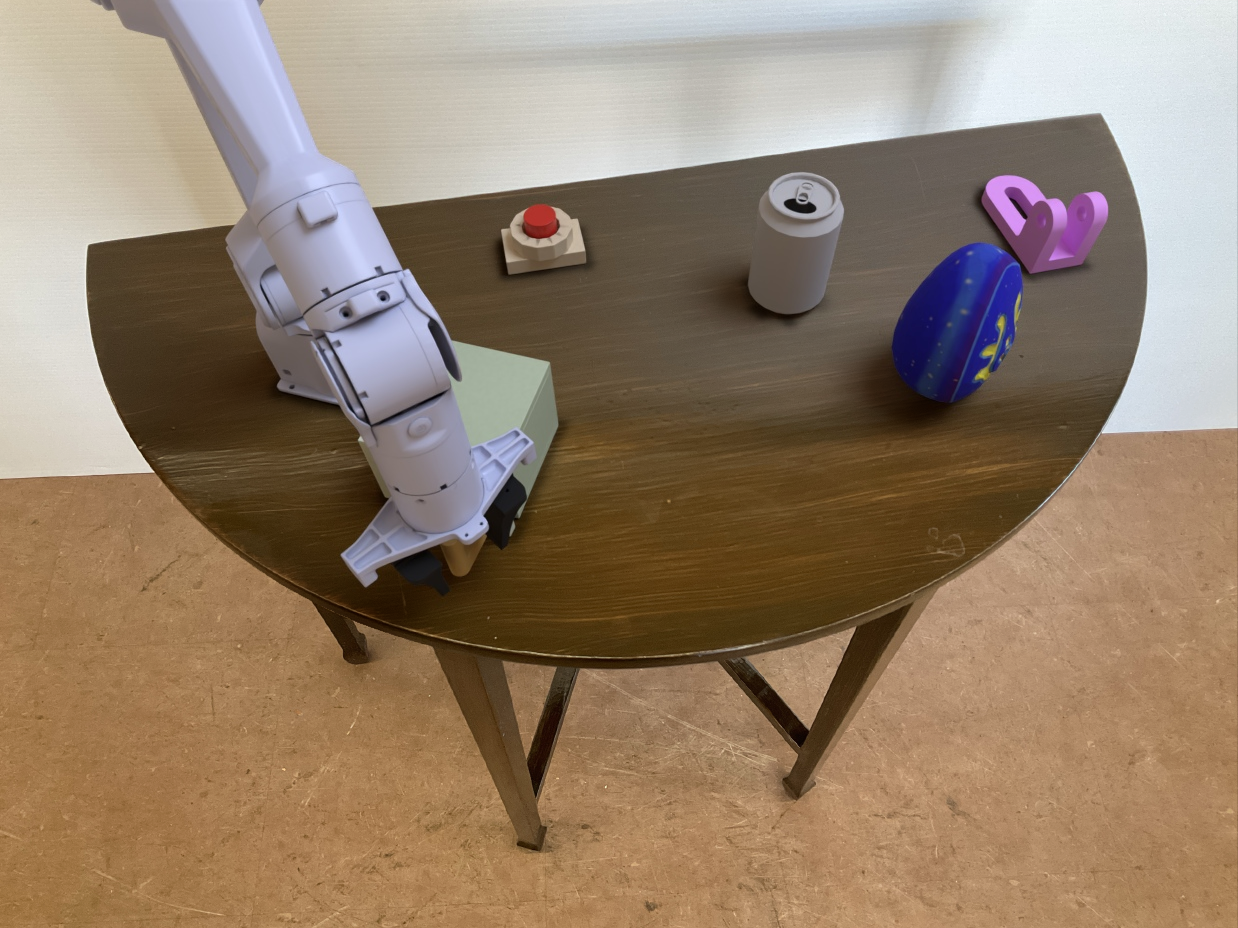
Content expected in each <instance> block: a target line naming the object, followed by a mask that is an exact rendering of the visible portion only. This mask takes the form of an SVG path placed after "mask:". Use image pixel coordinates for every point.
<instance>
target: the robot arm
mask: <svg viewBox="0 0 1238 928" xmlns="http://www.w3.org/2000/svg"><path fill="white" fill-rule="evenodd" d="M264 1H265V0H90V2H91V3H94V4H96V5H98V6H102V7H103V9H104V10H105V11H107V12H111V11H115V12H116V14H117V16H118V19H119V21H120V22H121V25H122V26H123V27H124V28H125V29H127V30H128V31H132V32H135V33H140V34H145V35H149V36H153V37H157V38H160V39H164V40H165V42H166V44H167V46H168V48H169V50H170V52H171V54H172V57H173V59H174V61H175V63H176V65H177V67H178V69H179V71H180V73H181V75H182V77H183V79H184V82H185V83H186V86H187V88H188V90H189V92H190V94H191V96H192V98H193V100H194V102H195V105H196V107H197V108H198V110H199V113H200V115H201V117H202V119H203V120H204V123H205V125H206V127H207V129H208V131H209V133H210V135H211V137H212V139H213V141H214V144H215V146H216V148H217V150H218V152H219V154H220V157H221V158H222V160H223V162H224V164H225V167H226V169H227V171H228V173H229V175H230V177H231V179H232V181H233V184H234V185H235V188H236V189H237V192H238V194H239V195H240V197H241V200H242V202H243V205H244V206H245V208H246V211H245V212H244V213H243V214H242V216H241V217H240V218H239V220H237V222H236V223H235V224H234V226H233V227H232V228H231V229H230V231H229V232H228V234H227V235H226V237H225V240H224V241H225V242H226V244H227V245H226V247H225V250H226V252H227V254H228V256H229V258H230V260H231V262H232V263H233V266H232V267H233V269H234V271H235V273H236V275H237V276H238V278H239V280H240V282H241V284H242V286H243V288H244V290H245V292H246V294H247V296H248V298H249V300H250V302H251V303H252V305H253V307H254V309H255V311H256V313H255V328H256V329H255V330H256V334H257V337H258V339H259V342H260V344H261V345H262V347H263V349H264V351H265V352H266V354H267V356H268V358H269V360H270V362H271V363H272V365H273V367H274V368H275V370H276V373H277V374H278V376H279V378H280V379H279V381H278V382H277V385H276V388H277V389H278V391H280V392H283V393H287V394H292V395H296V396H299V397H304V398H309V399H312V400H316V401H320V402H324V403H329V404H333V405H337V406H339V407H340V409H341V411H342V412H343V414H344V416H345V417H346V419H348V420H349V422H350V423H351V424H352V425H353V426H354V428H355V429H356V430H357V432H358V433H359V435H360V436H361V437H362V439H363V441H364V442H365V444H366V446H367V448H369V450H370V452H371V455H372V457H373V459H374V461H375V463H376V465H377V467H378V469H379V471H380V473H381V475H382V477H383V479H384V482H385V484H386V486H387V488H388V490H389V492H390V494H391V497H390V498H388V499H387V501H386V502H385V503H384V505H383V506H382V507H381V509H380V510H379V511H378V512H377V514H376V515H375V517H374V518H373V519H372V521H371V522H370V523H369V524H368V526H367V527H366V528H365V529H364V531H363V532H362V533H361V534H360V536H358V538H357V540H356V541H354V542H353V544H351V545H350V546H349V547H348V548H346V549H345V550H344V551H343V552H341V553H340V557H341V559H342V560H343V562H344V563H345V565H346V566H347V568H348V569H349V571H351V573H352V575H354V577H355V578H356V579H357V580H358V581H359V582H360V584H361V585H362V586H363V587H364V588H367V587H369V586H370V585H371V584H373V583H374V582H375V581H377V580H378V577H379V575H378V573H377V572H376V570H377V569H379V568H381V567H383V566H386V565H388V564H391V566H392V567H393V568H394V569H395V570H396V571H397V572H398V573H399V575H400V576H401V577H402V578H403V579H404V580H405V581H406V582H408V583H410V584H411V585H413V586H415V587H416V586H420V585H424V586H428V587H430V588H432V589H434V590H435V591H436V592H437V593H438V594H439V595H440V596H441V597H444V596H446V595H447V594H448V593H450V592H451V587H450V586H449V584H448V583H447V581H446V579H445V578H444V575H443V563H442V562H441V561H440V560H439V559H438V558H437V557H436V556H435V554H434V553H433V552H432V551H431V550H430V548H433V547H436V546H438V545H440V544H441V543H444V542H446V541H449V540H452V539H458V540H459V541H460V542H461V543H463V544H464V545H470V544H472V543H473V542H475V541H476V540H477V539H479V538H480V537H481V536H483V535H484V534H486V535H487V538H488V539H489V540H490V541H491V542H492V543H493V544H494V545H496V547H497V548H499V550H500V551H503V550H504V549H506V548H507V547H508V546H509V539H510V536H509V535H510V530H511V527H512V523H513V520H514V521H515V516H516V514H517V512H518V510H519V509H520V507H521V506H522V505H523V504H524V503H525V501H526V500H527V501H528V499H527V494H526V489H525V487H524V485H523V484H522V483H521V482H520V481H519V480H517V479H516V478H515V477H514V475H513V471H514V470H515V468H516V467H517V466H518V464H519V463H520V462H521V463H522V464H523V465H528V464H530V463H531V462H533V461H534V460H535V459H536V458H537V456H536V451H535V446H534V442H533V441H532V440H531V439H530V438H528V437H527V436H526V435H525V434H524V433H523V432H522V431H521V430H519V429H518V428H517V427H514V428H513V429H511V430H510V431H508V432H507V433H505V434H503V435H501V436H499V437H497V438H494V439H492V440H489V441H486V442H484V443H481V444H478V445H475V446H472V447H471V445H470V442H469V439H468V436H467V432H466V429H465V426H464V423H463V420H462V416H461V413H460V410H459V407H458V404H457V401H456V397H455V394H454V391H453V388H452V384H451V381H450V378H449V375H448V372H449V373H450V374H451V376H452V377H453V378H454V379H455V380H456V381H458V382H461V381H462V373H461V369H460V365H459V362H458V358H457V354H456V351H455V349H454V346H453V343H452V341H453V340H452V339H451V337H450V334H449V332H448V329H447V328H446V325H445V324H444V322H443V320H442V319H441V318H442V317H441V316H440V315H439V313H438V312H437V310H436V309H435V307H434V305H433V304H432V303H431V302H430V301H429V298H428V297H427V296H426V294H424V293H425V292H423V290H422V289H421V288H420V286H419V284H418V282H417V281H416V279H415V276H414V275H413V274H412V272H411V270H410V269H409V268H406V269H403V267H402V265H401V263H400V261H399V259H398V257H397V255H396V253H395V251H394V249H393V247H392V245H391V243H390V240H389V239H388V237H387V236H386V235H387V234H386V233H385V232H384V229H383V227H382V225H381V223H380V221H379V219H378V217H377V215H376V213H375V210H374V209H373V207H372V205H371V203H370V201H369V199H368V197H367V195H366V194H365V191H364V189H363V187H362V186H361V183H360V181H359V179H358V177H357V175H356V173H355V172H354V171H353V170H352V169H351V168H350V167H349V166H346V165H344V164H341V163H340V162H338V161H336V160H333V159H332V158H329V157H327V156H326V155H324V154H322V153H320V151H319V150H318V147H317V145H316V142H315V140H314V138H313V135H312V132H311V129H310V127H309V125H308V123H307V120H306V117H305V115H304V113H303V110H302V108H301V105H300V102H299V101H298V97H297V95H296V92H295V91H294V88H293V86H292V83H291V81H290V78H289V76H288V74H287V71H286V68H285V66H284V64H283V61H282V58H281V57H280V54H279V51H278V49H277V46H276V44H275V41H274V39H273V36H272V34H271V32H270V29H269V27H268V24H267V21H266V19H265V16H264V15H263V12H262V9H261V6H262V4H263V2H264ZM451 340H452V341H451ZM447 370H448V372H447ZM527 501H526V502H527Z"/></svg>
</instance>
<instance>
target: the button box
mask: <svg viewBox="0 0 1238 928" xmlns="http://www.w3.org/2000/svg"><path fill="white" fill-rule="evenodd" d="M551 207H552V208H553V209H554V210H555V213H556V221H557V231H556V233H555V234H554V235H553V236H551V237H549V238H544V239H535V238H531V237H530V236H528V235H527V233H526V231H525V225H524V218H523V215H524V212H525V211H526V210H527V209H528V208H529V207H527V208H526V209H524V210H522V211H520V212H518V213H516V214H515V216H514V217H513V219H512V221H511V222H510V224H509V228H502V229H500V232H501V233H500V234H501V239H502V245H503V252H504V256H505V263H506V269H507V274H508V276H509V275H515V274H516V275H517V274H523V273H529V272H536V271H543V270H549V269H556V268H563V267H564V268H565V267H570V266H576V265H584V264H587V254H586V253H587V252H586V247H585V244H584V238H583V235H582V230H581V227H580V223H579V222H580V221H579V219H578V218H572V219H571V216H570V215H569V214H567V213H566V212H565V211H563V210H562V209H561V208H559V207H554V206H551Z"/></svg>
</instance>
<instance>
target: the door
mask: <svg viewBox="0 0 1238 928" xmlns="http://www.w3.org/2000/svg"><path fill="white" fill-rule="evenodd" d="M357 442H358V444H359V446H360V448H361V451H362V453H363V455H364V457H365V459H366V461H367V463H368V465H369V467H370V469H371V471H372V473H373V476H374V477H375V479H376V482H377V484H378V486H379V488H380V490H381V492H382V494H383V496H384V498H386V499H389V498H390V497H391V494H390V492H389V490H388V488H387V486H386V484H385V482H384V479H383V477H382V475H381V473H380V471H379V469H378V467H377V465H376V463H375V461H374V459H373V457H372V455H371V452H370V450H369V448H367V446H366V444H365V442H364V441H363V439H362V437H361V435H360V436H359V438H358V439H357ZM515 529H516V524H515V519H514V520H513V523H512V527H511V530H510V535H509V538H510V537H512V535H513V532H514V530H515ZM487 538H488V536H487V535H486V534H484V535H483V536H481V537H480V538H479V539H477V540H476V541H475V542H473V543H472V544H470V545H464V544H463V543H461V542H460V541H459V540H458V539H452V540H449V541H446V542H444V543H441V544H439V546H440V549H441V551H442V554H443V556H444V558H445V561H446V563H447V565H448V568H449V570H450V573H451V574H452V575H453V576H454V577H463V576H466V575H467V574H468V573H470V571H471V569H472V566H473V565H474V563H475V561H476V559H477V557H478V555H479V553H480V551H481V548H482V547H483V546H484V543H485V542H486V539H487Z"/></svg>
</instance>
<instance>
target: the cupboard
mask: <svg viewBox="0 0 1238 928" xmlns="http://www.w3.org/2000/svg"><path fill="white" fill-rule="evenodd" d="M451 341H452V343H453V346H454V349H455V351H456V354H457V358H458V362H459V365H460V369H461V373H462V381H461V382H458V381H456V380H455V379H454V378H453V377H452V376H451V374H450V373H449V372H448V370H447V372H448V375H449V378H450V381H451V384H452V388H453V391H454V394H455V397H456V401H457V404H458V407H459V410H460V413H461V416H462V420H463V423H464V426H465V429H466V432H467V436H468V439H469V442H470V445H471V447H472V446H475V445H478V444H481V443H484V442H486V441H489V440H492V439H494V438H497V437H499V436H501V435H503V434H505V433H507V432H508V431H510V430H511V429H513V428H514V427H517V428H518V429H519V430H521V431H522V432H523V433H524V434H525V435H526V436H527V437H528V438H530V439H531V440H532V441H533V442H534V446H535V451H536V456H537V458H536V459H535V460H534V461H533V462H531V463H530V464H528V465H523V464H522V463H521V462H520V463H519V464H518V466H517V467H516V468H515V470H514V471H513V475H514V477H515V478H516V479H517V480H519V481H520V482H521V483H522V484H523V485H524V487H525V489H526V494H527V500H526V501H525V503H524V504H523V505H522V506H521V507H520V509H519V510H518V512H517V514H516V516H515V518H516V519H520V518H521V515H522V513H523V511H524V508H525V506H526V503H527V502H528V499H529V496H530V494H531V491H532V489H533V487H534V485H535V483H536V480H537V477H538V476H539V473H540V471H541V469H542V468H541V467H542V466H543V463H544V461H545V459H546V457H547V454H548V451H549V449H550V446H551V445H552V441H553V440H554V437H555V435H556V432H557V430H558V428H559V417H558V410H557V405H556V404H557V403H556V396H555V388H554V381H553V375H552V367H551V366H552V365H551V362H550V361H547V360H542V359H538V358H535V357H534V358H533V357H529V356H525V355H520V354H515V353H511V352H506V351H501V350H497V349H492V348H488V347H483V346H479V345H474V344H469V343H465V342H460V341H456V340H452V339H451ZM515 518H514V519H515Z"/></svg>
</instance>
